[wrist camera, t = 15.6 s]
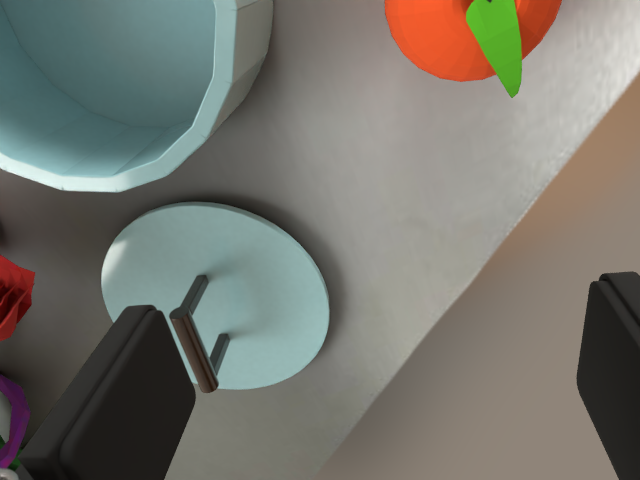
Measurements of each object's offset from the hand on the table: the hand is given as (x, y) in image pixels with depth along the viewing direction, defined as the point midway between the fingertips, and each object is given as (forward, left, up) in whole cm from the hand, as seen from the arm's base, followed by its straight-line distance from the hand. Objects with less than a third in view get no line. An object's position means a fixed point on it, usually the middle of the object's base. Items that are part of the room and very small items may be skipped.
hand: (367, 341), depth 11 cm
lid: (-12, -11, -17) cm, 24 cm away
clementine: (+5, +5, -18) cm, 19 cm away
